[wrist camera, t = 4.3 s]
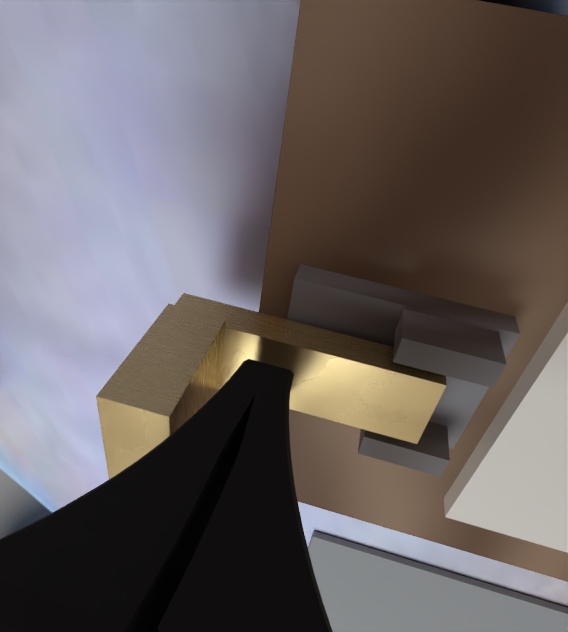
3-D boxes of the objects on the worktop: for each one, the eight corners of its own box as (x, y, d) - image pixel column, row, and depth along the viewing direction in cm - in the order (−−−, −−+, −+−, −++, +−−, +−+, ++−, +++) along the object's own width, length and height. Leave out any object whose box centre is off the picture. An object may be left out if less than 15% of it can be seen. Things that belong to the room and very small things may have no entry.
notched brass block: (448, 351, 12) (462, 501, 9) (413, 424, 14) (413, 573, 11) (183, 284, 13) (96, 396, 9) (183, 361, 15) (109, 479, 11)
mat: (604, 618, 22) (606, 625, 21) (484, 703, 30) (484, 709, 30) (313, 530, 23) (312, 536, 23) (277, 634, 31) (276, 639, 31)
